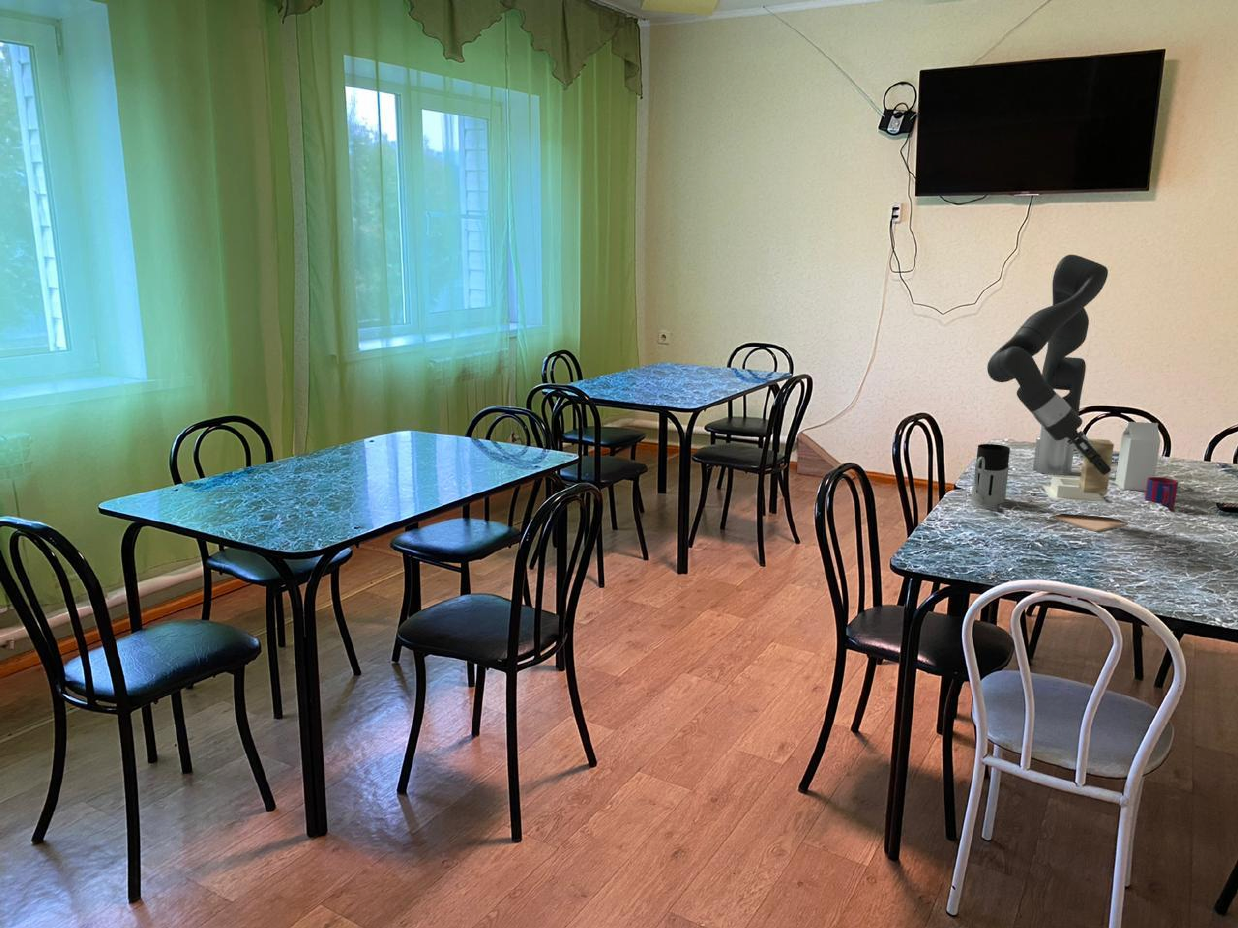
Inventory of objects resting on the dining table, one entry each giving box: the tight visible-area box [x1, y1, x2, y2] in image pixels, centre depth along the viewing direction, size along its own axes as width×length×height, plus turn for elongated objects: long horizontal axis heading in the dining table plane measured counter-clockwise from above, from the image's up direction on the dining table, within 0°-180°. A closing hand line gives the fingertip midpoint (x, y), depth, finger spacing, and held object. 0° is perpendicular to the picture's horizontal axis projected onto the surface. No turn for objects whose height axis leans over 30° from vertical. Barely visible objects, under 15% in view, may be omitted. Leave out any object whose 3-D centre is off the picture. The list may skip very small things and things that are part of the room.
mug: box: [1144, 476, 1179, 510], centre depth 233 cm, size 7×10×7 cm
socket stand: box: [1042, 476, 1107, 504], centre depth 239 cm, size 13×13×4 cm
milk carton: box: [1114, 421, 1161, 492], centre depth 245 cm, size 7×7×19 cm
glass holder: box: [968, 443, 1011, 511], centre depth 230 cm, size 9×14×15 cm, turn 137°
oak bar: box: [1079, 438, 1115, 495], centre depth 218 cm, size 5×5×12 cm
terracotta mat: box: [1050, 513, 1129, 532], centre depth 221 cm, size 12×12×1 cm
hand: (1104, 469), depth 218 cm, fingers closed on oak bar, 5 cm apart
